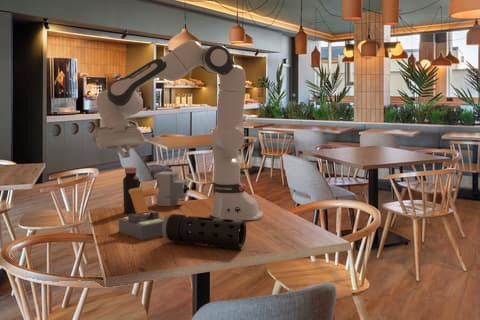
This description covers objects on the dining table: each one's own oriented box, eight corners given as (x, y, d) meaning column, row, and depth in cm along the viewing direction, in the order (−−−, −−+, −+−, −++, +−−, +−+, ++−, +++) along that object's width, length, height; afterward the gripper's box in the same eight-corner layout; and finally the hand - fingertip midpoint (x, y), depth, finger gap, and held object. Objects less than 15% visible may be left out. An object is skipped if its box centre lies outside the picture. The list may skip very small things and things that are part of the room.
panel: (118, 231, 195) (118, 212, 194) (145, 225, 203) (145, 207, 202) (141, 240, 184) (141, 219, 183) (169, 234, 192) (169, 214, 191)
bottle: (136, 210, 231) (135, 166, 228) (142, 213, 225) (140, 167, 222) (121, 211, 227) (120, 167, 225) (127, 215, 221) (125, 169, 219)
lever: (137, 220, 191) (127, 190, 194) (148, 218, 195) (139, 188, 198) (139, 218, 190) (130, 188, 193) (151, 216, 194) (142, 187, 197)
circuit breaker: (186, 206, 237) (185, 174, 235) (157, 205, 240) (156, 173, 238) (191, 203, 245) (190, 172, 243) (162, 202, 247) (161, 171, 245)
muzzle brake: (237, 254, 169) (238, 223, 167) (161, 246, 177) (160, 216, 176) (246, 245, 178) (246, 216, 176) (173, 238, 186) (172, 210, 185)
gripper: (95, 123, 197) (105, 153, 192) (140, 122, 211) (151, 151, 206) (88, 131, 201) (99, 162, 196) (134, 131, 215) (144, 159, 211)
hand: (126, 156), depth 202 cm, fingers closed
